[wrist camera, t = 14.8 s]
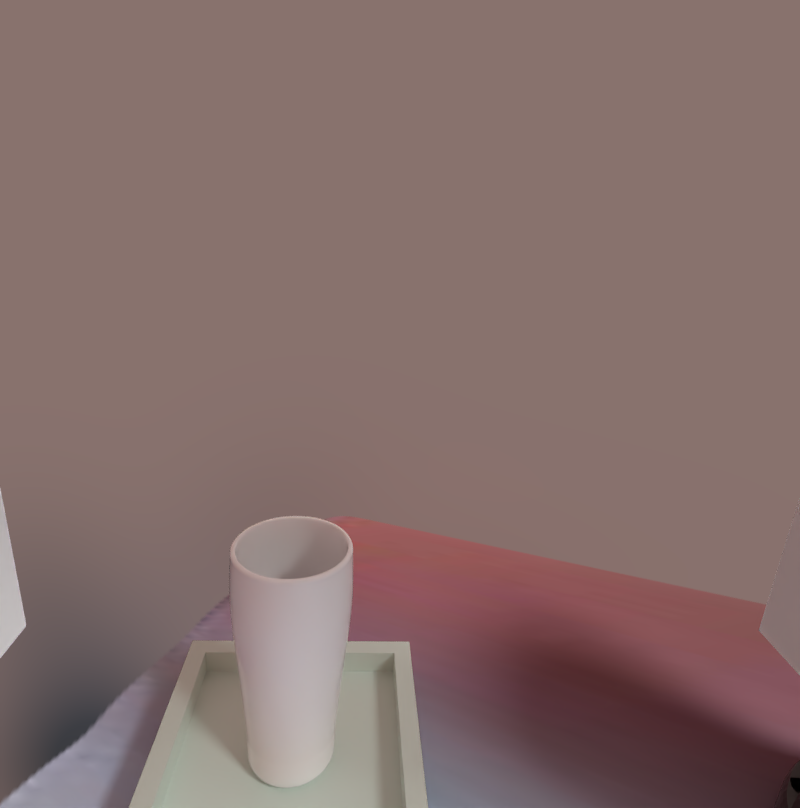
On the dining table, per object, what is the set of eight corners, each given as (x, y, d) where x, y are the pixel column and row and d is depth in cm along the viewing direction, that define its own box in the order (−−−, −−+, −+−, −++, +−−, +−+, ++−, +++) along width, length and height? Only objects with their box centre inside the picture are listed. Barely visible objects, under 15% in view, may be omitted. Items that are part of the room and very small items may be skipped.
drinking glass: (223, 806, 33) (213, 581, 29) (247, 709, 40) (242, 512, 35) (343, 805, 34) (353, 584, 29) (347, 709, 40) (355, 515, 35)
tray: (407, 668, 45) (409, 641, 44) (430, 900, 30) (434, 866, 29) (194, 667, 44) (192, 640, 43) (107, 911, 29) (102, 875, 28)
